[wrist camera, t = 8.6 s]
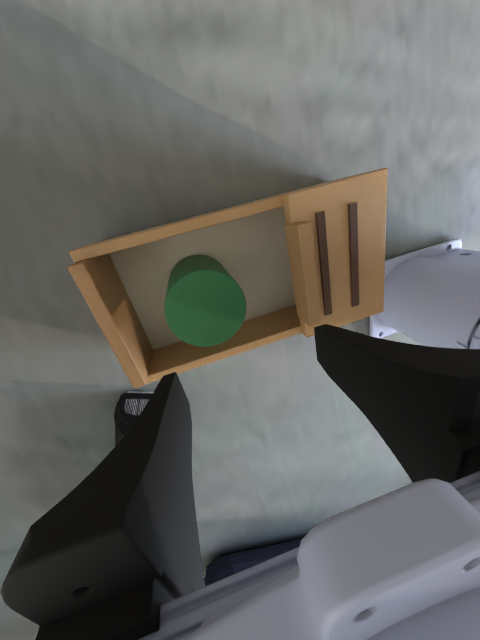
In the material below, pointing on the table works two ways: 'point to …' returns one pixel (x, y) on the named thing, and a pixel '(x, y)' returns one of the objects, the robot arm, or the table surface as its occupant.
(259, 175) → the table surface
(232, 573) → the portable speaker
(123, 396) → the electric trimmer
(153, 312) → the wooden organizer box
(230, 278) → the green cylinder
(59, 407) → the table surface
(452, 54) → the table surface
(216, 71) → the table surface
